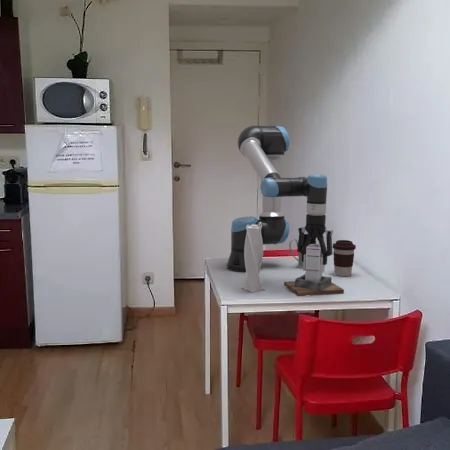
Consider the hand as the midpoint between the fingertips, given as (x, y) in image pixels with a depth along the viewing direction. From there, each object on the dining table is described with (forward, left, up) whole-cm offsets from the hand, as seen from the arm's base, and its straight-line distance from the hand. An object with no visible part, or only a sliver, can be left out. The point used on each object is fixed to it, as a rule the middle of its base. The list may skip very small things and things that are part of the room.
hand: (313, 271), depth 227 cm
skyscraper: (-4, -24, -8) cm, 25 cm away
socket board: (0, 0, -7) cm, 7 cm away
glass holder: (-36, +10, -8) cm, 38 cm away
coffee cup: (-20, +23, -8) cm, 31 cm away
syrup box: (0, 0, -4) cm, 4 cm away
